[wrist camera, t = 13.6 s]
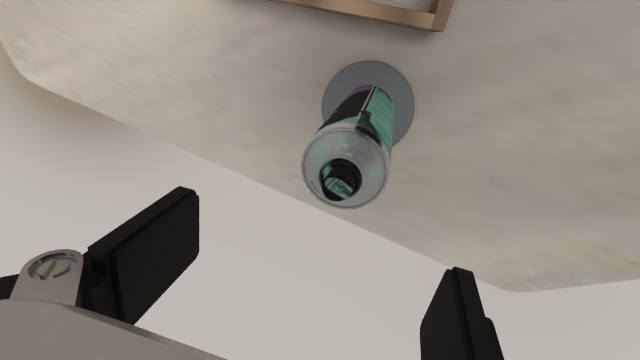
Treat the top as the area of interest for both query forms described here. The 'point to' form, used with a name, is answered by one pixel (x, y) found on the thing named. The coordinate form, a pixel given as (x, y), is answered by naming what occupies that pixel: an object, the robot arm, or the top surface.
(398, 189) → the top surface
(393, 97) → the mat
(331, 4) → the wooden box
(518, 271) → the top surface
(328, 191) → the spray can
